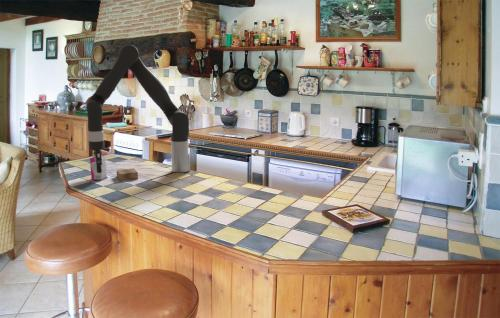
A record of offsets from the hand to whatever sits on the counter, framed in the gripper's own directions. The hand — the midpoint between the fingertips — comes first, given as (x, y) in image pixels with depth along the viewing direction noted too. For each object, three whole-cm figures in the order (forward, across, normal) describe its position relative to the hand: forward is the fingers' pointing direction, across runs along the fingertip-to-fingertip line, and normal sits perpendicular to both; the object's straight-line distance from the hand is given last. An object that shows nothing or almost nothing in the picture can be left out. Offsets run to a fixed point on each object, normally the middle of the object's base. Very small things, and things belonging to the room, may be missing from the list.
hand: (98, 170), depth 209 cm
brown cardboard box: (+5, -4, -14) cm, 15 cm away
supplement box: (+5, 0, 0) cm, 5 cm away
